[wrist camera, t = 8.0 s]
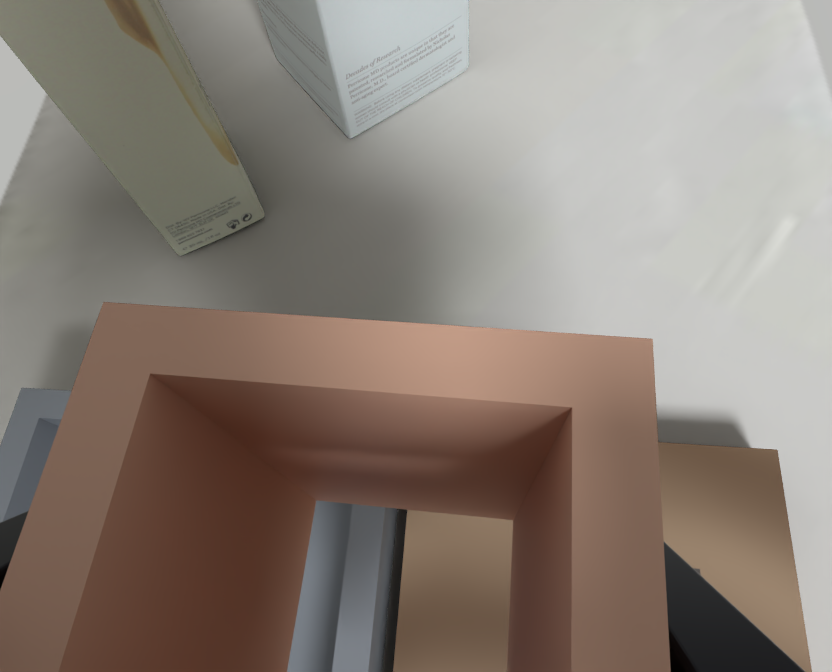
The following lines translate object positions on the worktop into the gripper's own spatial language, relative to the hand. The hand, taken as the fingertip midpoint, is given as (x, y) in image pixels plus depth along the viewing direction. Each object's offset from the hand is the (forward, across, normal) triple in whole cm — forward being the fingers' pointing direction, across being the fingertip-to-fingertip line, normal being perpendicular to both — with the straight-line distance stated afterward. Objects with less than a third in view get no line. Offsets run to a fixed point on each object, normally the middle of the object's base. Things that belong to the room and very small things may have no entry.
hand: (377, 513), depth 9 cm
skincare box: (+20, +12, -1) cm, 24 cm away
